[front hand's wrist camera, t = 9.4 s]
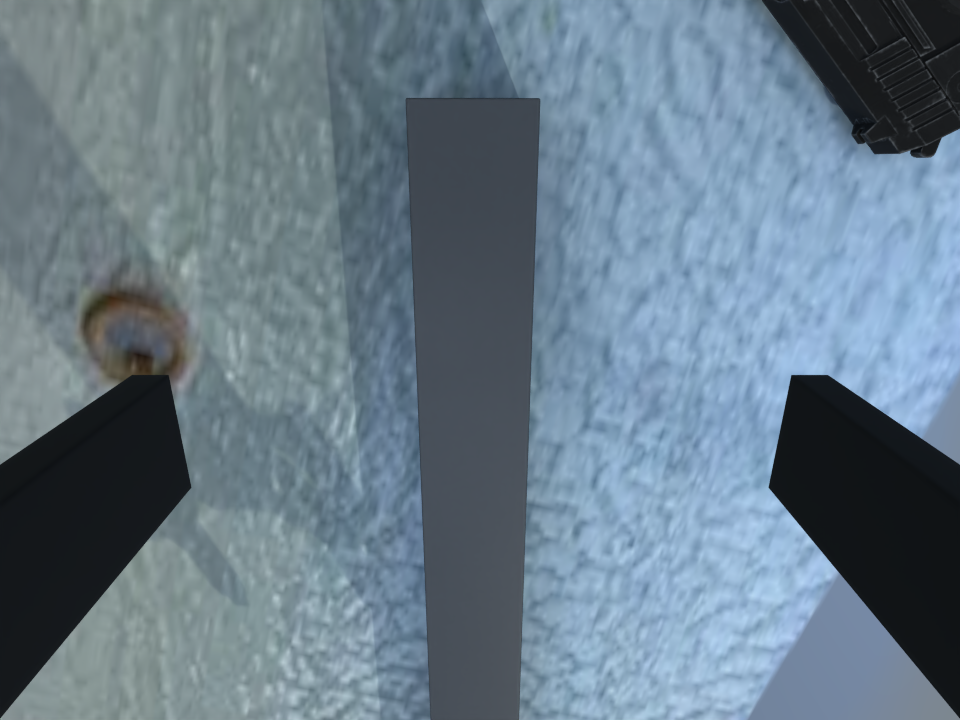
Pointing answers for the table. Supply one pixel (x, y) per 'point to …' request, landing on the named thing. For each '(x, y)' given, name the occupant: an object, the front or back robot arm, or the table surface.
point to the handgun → (883, 65)
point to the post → (473, 387)
